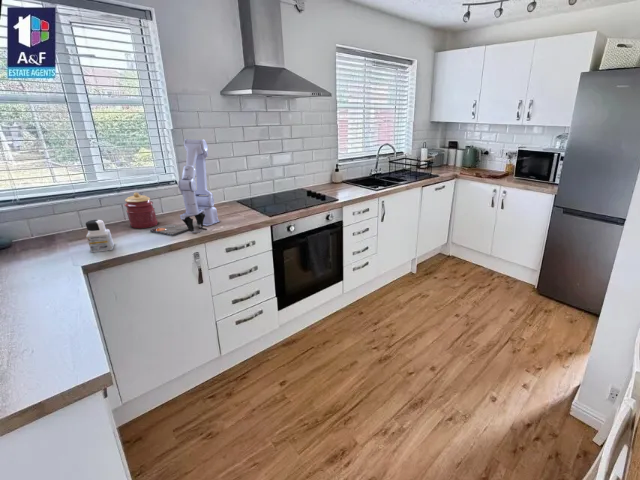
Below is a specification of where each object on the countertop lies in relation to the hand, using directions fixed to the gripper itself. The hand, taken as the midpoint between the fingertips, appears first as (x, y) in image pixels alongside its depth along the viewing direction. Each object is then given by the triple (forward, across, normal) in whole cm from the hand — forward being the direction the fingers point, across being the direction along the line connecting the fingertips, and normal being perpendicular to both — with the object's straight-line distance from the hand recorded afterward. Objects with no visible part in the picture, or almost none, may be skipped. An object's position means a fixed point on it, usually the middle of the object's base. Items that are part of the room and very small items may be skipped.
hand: (196, 229), depth 192 cm
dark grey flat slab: (+1, +4, -13) cm, 14 cm away
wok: (+1, 0, +2) cm, 3 cm away
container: (+2, +36, -19) cm, 41 cm away
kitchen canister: (+2, +3, -33) cm, 33 cm away
